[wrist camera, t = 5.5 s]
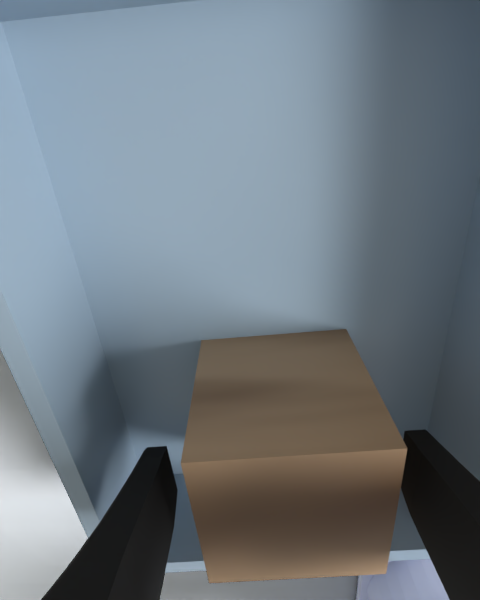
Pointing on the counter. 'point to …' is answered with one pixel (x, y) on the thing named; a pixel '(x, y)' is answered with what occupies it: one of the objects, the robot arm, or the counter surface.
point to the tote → (235, 215)
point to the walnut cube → (290, 459)
